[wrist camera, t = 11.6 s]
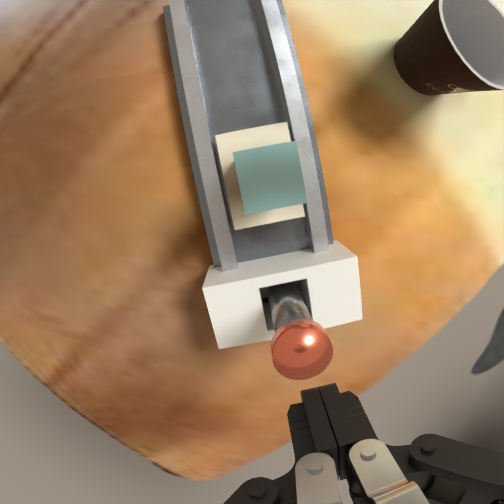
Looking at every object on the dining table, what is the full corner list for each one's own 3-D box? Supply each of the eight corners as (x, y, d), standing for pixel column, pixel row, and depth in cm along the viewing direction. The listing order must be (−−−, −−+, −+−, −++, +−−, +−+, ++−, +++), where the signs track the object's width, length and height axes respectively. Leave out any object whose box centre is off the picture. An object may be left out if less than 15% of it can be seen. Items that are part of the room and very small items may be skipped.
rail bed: (165, 11, 22) (158, -2, 19) (275, -9, 22) (278, -23, 19) (224, 301, 28) (222, 314, 26) (335, 279, 28) (343, 289, 26)
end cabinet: (209, 265, 27) (202, 287, 22) (335, 240, 27) (357, 256, 22) (222, 317, 29) (219, 349, 23) (342, 293, 28) (362, 319, 23)
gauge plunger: (258, 277, 25) (267, 336, 16) (299, 269, 25) (329, 322, 16) (266, 314, 25) (277, 385, 17) (305, 306, 25) (334, 372, 16)
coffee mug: (378, 87, 24) (438, 55, 14) (386, 13, 22) (436, -34, 12) (474, 130, 25) (544, 125, 15) (478, 60, 23) (539, 39, 13)
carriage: (217, 138, 24) (200, 116, 14) (283, 125, 24) (309, 97, 14) (235, 225, 25) (231, 259, 16) (300, 212, 25) (335, 238, 16)
